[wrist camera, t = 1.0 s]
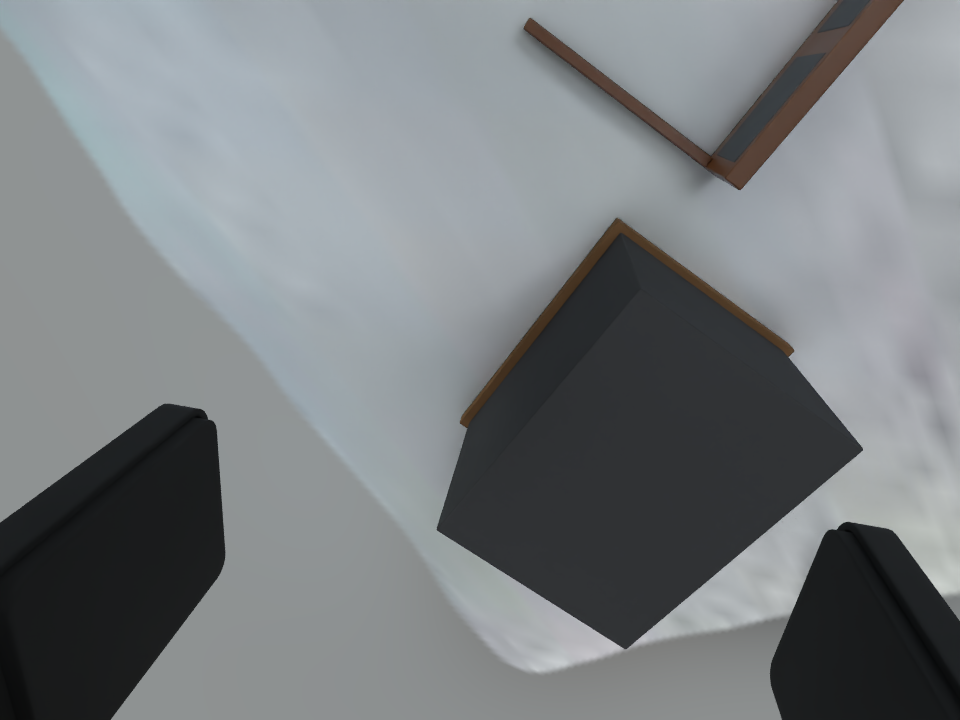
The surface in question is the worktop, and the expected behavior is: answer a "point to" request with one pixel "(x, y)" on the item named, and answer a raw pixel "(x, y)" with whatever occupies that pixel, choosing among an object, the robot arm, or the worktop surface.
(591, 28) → the worktop surface
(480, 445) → the wood-trimmed dark box
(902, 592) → the robot arm
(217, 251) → the worktop surface
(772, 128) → the brown angular bar frame
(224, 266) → the worktop surface
